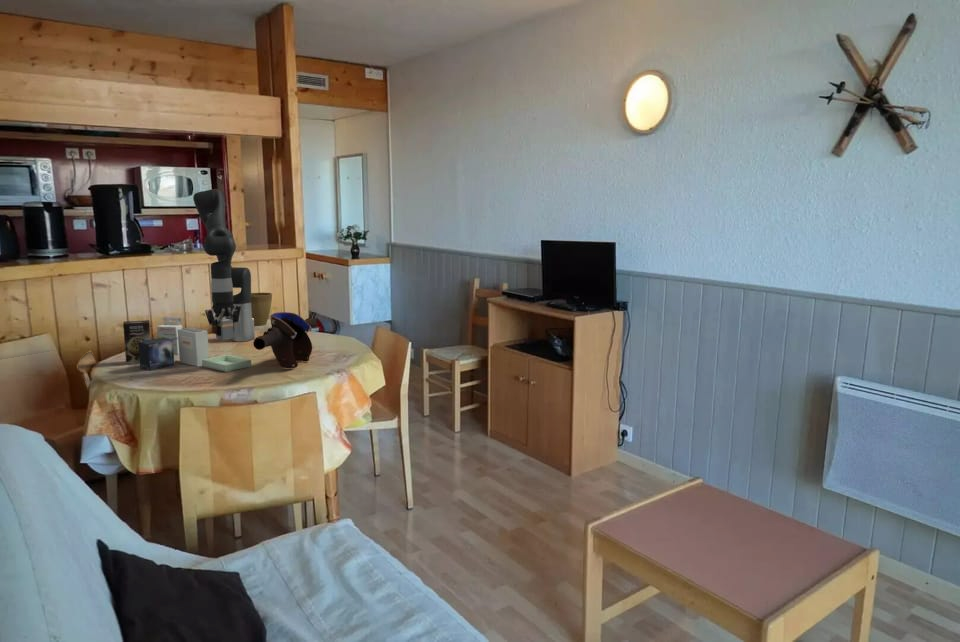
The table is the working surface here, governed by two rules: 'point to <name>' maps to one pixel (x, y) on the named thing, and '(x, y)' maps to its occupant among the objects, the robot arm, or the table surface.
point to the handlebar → (288, 338)
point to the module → (226, 329)
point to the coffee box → (135, 339)
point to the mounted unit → (193, 346)
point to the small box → (156, 353)
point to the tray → (226, 363)
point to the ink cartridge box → (170, 331)
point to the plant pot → (260, 307)
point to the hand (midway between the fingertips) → (224, 334)
